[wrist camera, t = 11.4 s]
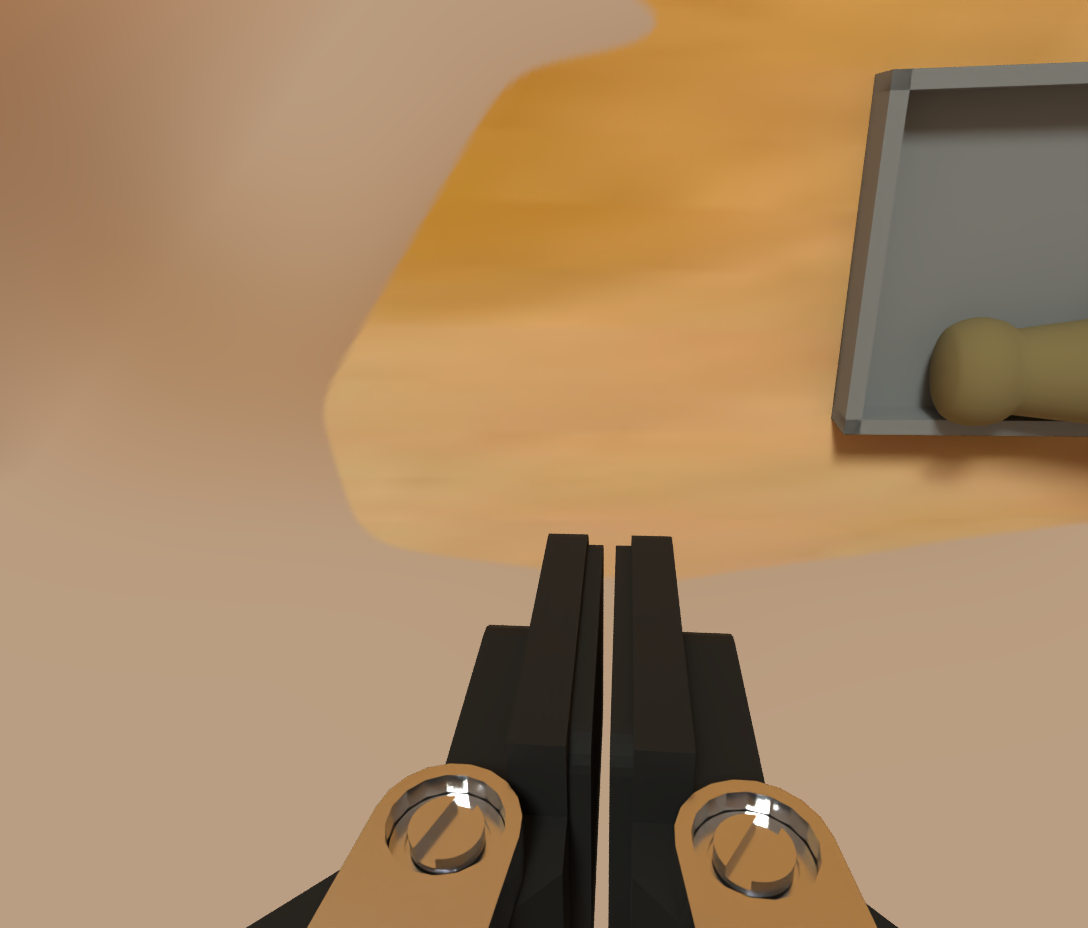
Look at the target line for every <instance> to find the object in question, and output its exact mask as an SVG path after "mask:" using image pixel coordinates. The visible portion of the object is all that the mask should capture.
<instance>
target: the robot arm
mask: <svg viewBox="0 0 1088 928" xmlns="http://www.w3.org/2000/svg"><path fill="white" fill-rule="evenodd" d="M603 578H604V548H603V545H589V537H588V535H585V534H549V535H548V540H547V545H546V549H545V554H544V559H543V564H542V569H541V574H540V579H539V584H538V589H537V594H536V599H535V604H534V609H533V613H532V619H531V623H530V626H507V625H506V626H505V625H489V626H487V627H486V630H485V632H484V635H483V639H482V642H481V646H480V649H479V652H478V656H477V659H476V662H475V666H474V669H473V673H472V676H471V679H470V683H469V686H468V690H467V693H466V696H465V700H464V704H463V707H462V710H461V714H460V717H459V720H458V724H457V727H456V730H455V734H454V737H453V741H452V745H451V747H450V751H449V755H448V758H447V761H446V764H445V765H439V766H434V767H428V768H426V769H423V770H421V771H419V772H416V773H414V774H412V775H409V776H407V777H406V778H404V779H403V780H402V781H401V782H399V783H398V784H396V785H395V786H394V787H393V788H391V789H390V790H389V791H388V792H387V794H386V795H385V796H384V797H383V798H382V800H381V801H380V802H379V804H378V805H377V806H376V808H375V809H374V811H373V813H372V814H371V816H370V818H369V820H368V821H367V823H366V825H365V827H364V828H363V830H362V832H361V834H360V836H359V837H358V839H357V841H356V843H355V845H354V846H353V848H352V850H351V852H350V853H349V855H348V857H347V858H346V860H345V862H344V864H343V865H342V867H341V869H340V870H339V871H337V872H336V873H334V874H333V875H331V876H329V877H328V878H326V879H324V880H323V881H321V882H319V883H318V884H316V885H315V886H313V887H311V888H310V889H309V890H307V891H305V892H303V893H302V894H300V895H298V896H297V897H295V898H294V899H292V900H291V901H289V902H287V903H286V904H284V905H282V906H281V907H279V908H277V909H276V910H274V911H273V912H271V913H269V914H268V915H266V916H264V917H263V918H261V919H260V920H258V921H256V922H255V923H253V924H252V925H250V926H248V927H247V928H594V910H595V888H596V887H595V885H596V865H597V864H596V863H597V842H598V818H599V796H600V772H601V749H602V727H603ZM680 616H681V615H680V607H679V598H678V589H677V579H676V570H675V561H674V553H673V544H672V537H667V536H632V543H631V546H616V563H615V597H614V630H613V632H614V634H613V663H612V667H613V668H612V697H611V734H610V803H609V804H610V806H609V815H610V817H609V925H608V926H609V927H608V928H898V927H896V926H895V925H894V924H892V923H891V922H890V921H888V920H887V919H886V918H884V917H883V916H882V915H880V914H879V913H878V912H876V911H875V910H874V909H873V908H871V907H870V906H869V905H867V904H866V903H865V901H864V899H863V897H862V895H861V893H860V891H859V888H858V886H857V884H856V882H855V880H854V878H853V876H852V874H851V871H850V869H849V867H848V865H847V863H846V861H845V859H844V857H843V855H842V852H841V850H840V848H839V846H838V844H837V842H836V840H835V838H834V836H833V835H832V833H831V832H830V830H829V829H828V827H827V826H826V824H825V823H824V821H823V820H822V818H821V817H820V816H819V815H818V814H817V813H816V812H815V811H814V810H812V809H811V808H810V807H809V806H808V805H807V804H806V803H805V802H803V801H802V800H801V799H799V798H797V797H795V796H793V795H792V794H790V793H788V792H786V791H784V790H782V789H781V788H778V787H775V786H771V785H768V784H765V782H764V777H763V773H762V768H761V764H760V758H759V754H758V749H757V745H756V740H755V735H754V730H753V726H752V721H751V716H750V712H749V707H748V702H747V697H746V693H745V688H744V684H743V679H742V674H741V669H740V665H739V660H738V655H737V651H736V646H735V642H734V639H733V636H732V635H731V634H720V633H693V632H682V625H681V617H680Z"/></svg>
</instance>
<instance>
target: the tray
mask: <svg viewBox="0 0 1088 928" xmlns="http://www.w3.org/2000/svg"><path fill="white" fill-rule="evenodd" d="M974 317H990V318H994V319H999V320H1003V321H1005V322H1008V323H1010V324H1011V325H1013V326H1014V327H1016V328H1025V327H1032V326H1039V325H1047V324H1054V323H1061V322H1069V321H1076V320H1084V319H1088V62H1073V63H1047V64H1021V65H996V66H970V67H945V68H919V69H894V70H890V71H886V72H882V73H879V74H875V82H874V89H873V97H872V105H871V113H870V121H869V128H868V136H867V144H866V152H865V160H864V167H863V175H862V183H861V191H860V199H859V206H858V214H857V222H856V230H855V238H854V245H853V253H852V261H851V269H850V277H849V284H848V292H847V300H846V308H845V316H844V323H843V331H842V339H841V347H840V355H839V362H838V370H837V378H836V386H835V393H834V401H833V409H832V417H831V418H832V419H833V421H834V422H835V424H836V425H837V426H838V428H839V429H840V430H841V432H842V433H843V434H868V435H970V436H1071V437H1088V424H1084V423H1075V422H1067V421H1059V420H1050V419H1042V418H1033V417H1025V416H1017V415H1010V416H1009V417H1007V418H1006V419H1004V420H1002V421H1001V422H999V423H994V424H990V425H985V426H963V425H959V424H954V423H952V422H951V421H949V420H947V419H945V418H944V417H943V416H941V415H940V414H939V413H938V411H937V409H936V407H935V405H934V403H933V401H932V397H931V393H930V384H929V370H930V363H931V357H932V353H933V349H934V346H935V344H936V342H937V340H938V338H939V337H940V335H941V334H942V333H943V331H944V330H945V329H946V328H948V327H950V326H951V325H953V324H955V323H957V322H959V321H962V320H965V319H969V318H974Z"/></svg>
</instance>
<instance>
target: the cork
mask: <svg viewBox="0 0 1088 928" xmlns="http://www.w3.org/2000/svg"><path fill="white" fill-rule="evenodd" d="M929 384H930V393H931V397H932V401H933V403H934V405H935V407H936V409H937V411H938V413H939V414H940V415H941V416H943V417H944V418H945V419H947V420H949V421H951V422H952V423H954V424H959V425H963V426H985V425H990V424H994V423H999V422H1001V421H1002V420H1004V419H1006V418H1007V417H1009V416H1010V415H1017V416H1025V417H1033V418H1042V419H1050V420H1059V421H1067V422H1075V423H1084V424H1088V319H1084V320H1076V321H1069V322H1061V323H1054V324H1047V325H1039V326H1032V327H1025V328H1016V327H1014V326H1013V325H1011V324H1010V323H1008V322H1005V321H1003V320H999V319H994V318H990V317H974V318H969V319H965V320H962V321H959V322H957V323H955V324H953V325H951V326H950V327H948V328H946V329H945V330H944V331H943V333H942V334H941V335H940V337H939V338H938V340H937V342H936V344H935V346H934V349H933V353H932V357H931V363H930V370H929Z"/></svg>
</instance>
